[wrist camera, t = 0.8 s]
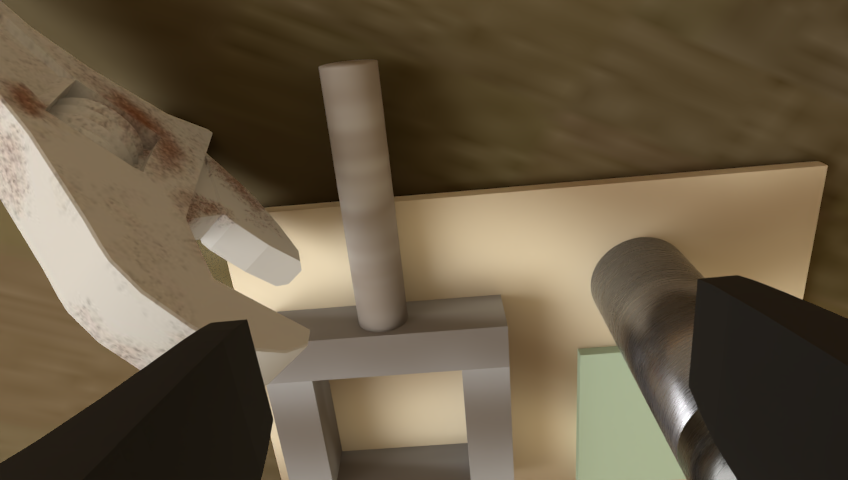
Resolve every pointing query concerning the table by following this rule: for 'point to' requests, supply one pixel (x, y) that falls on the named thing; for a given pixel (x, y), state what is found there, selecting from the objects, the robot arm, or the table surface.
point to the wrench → (130, 209)
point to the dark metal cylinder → (659, 342)
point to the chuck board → (482, 300)
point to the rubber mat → (617, 423)
